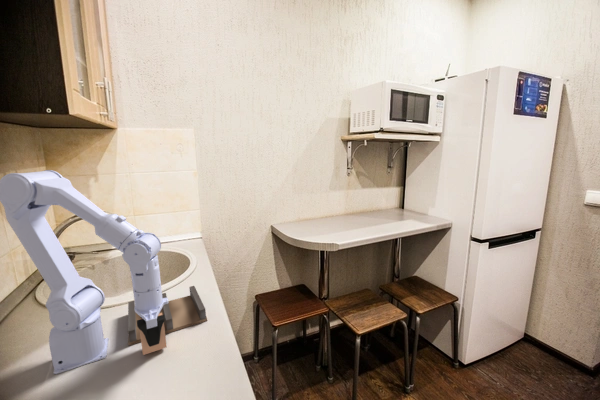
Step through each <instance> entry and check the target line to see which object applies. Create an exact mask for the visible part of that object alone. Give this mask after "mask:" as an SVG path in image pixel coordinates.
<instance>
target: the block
mask: <svg viewBox="0 0 600 400" xmlns="http://www.w3.org/2000/svg"><path fill="white" fill-rule="evenodd" d="M160 315H162V313H159V315H158V316H160ZM141 319H143V318H141ZM139 320H140V319H139ZM140 336H141V342H140V343H141V352H142V355H143V356H145V355H148V354H150V353H153V352H156V351H160V350H163V349H166V348H167V338H166V337H167V336H166V334H165V328H164V323H163V325H162V328H161V334H160V342H159V344H157V345H154V346H151V347H149V345H148V343H147V340H146V338H145V335H144V334H143V332H142V331H141V330H140Z"/></svg>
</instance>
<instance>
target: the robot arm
mask: <svg viewBox="0 0 600 400" xmlns="http://www.w3.org/2000/svg"><path fill="white" fill-rule="evenodd" d="M0 203H1V205H2V207H3V208H4V212H5V213H4V214H5V218H6V219H5V220H6V221H7V223H8V224H9V226H10V227H11V229H12V230H13V232H14V233H15V235H16V237H17V239H18V240H19V242H20V244H21V245H22V247H23V248H24V250H25V251H26V253H27V255H28V257H29V258H30V259H31V261H32V262H33V264H34V266H35V267H36V269H37V270H38V272H39V274H40V275H41V276H42V278H43V281H44V282H45V283H46V285H47V286H48V288H49V289H50V293H49V296H48V298H47V300H46V302H45V307H46V309H47V311H48V314H49V318H48V319H49V321H50V323H51V325H52V326H53V327H52V328H51V329H50V332H49V335H48V336H49V337H48V339H49V340H48V342H49V343H48V345H49V351H50V355H51V362H52V366H53V375H58V374H60V373H64V372H67V371H70V370H72V369H73V370H74V369H76V368H78V367H82V366H85V365H88V364H89V365H90V364H92V363H94V362H97V361H100V360H103V359H105V358H107V354H108V345H109V337H106V338H105V336H104V330H103V324H102V318H101V316H102V315H101V312H102V308H101V307H102V306H103V304H104V302H105V300H106V295H105V293H104V291H103V290H102V289H101V288H100V287H99V286H96V284H95V283H94V282H93V280H92V279H90V278H88V277H83V276H80V274H79V273H78V271H77V269H76V268H75V265H74V264H73V262H72V260H71V259H70V256H68V254H67V251H65V249H64V247H63V246H62V244H61V242H60V241H59V239H58V237H57V236H56V234H55V232H54V230H53V229H52V227H51V225H50V224H49V222H48V220H47V219H46V214H47V213H48V210H49V209H50V207H51V206H59V207H61V208H63V209H65V210H67V211H68V212H70V213H72V214H73V215H75V216H77V217H78V218H80V219H82V220H83V221H85V222H86V223H88V224H90V225H92V226H93V227H94V232H95V235H96V236H97V237H99V238H101V239H102V240H104V242H106V243H108V244H109V245H111V246H112V247H114V248H115V249H116V250H118V251H120V252H121V253H122V254H121V255H122V259H123V260H124V262H125V263H126V264H127V265H128V267H129V271H130V276H131V277H130V278H131V283H132V291H133V301H134V303H135V307H134V309H135V312H136V313H137V314H138V315H139V316H140V317H141V318H143V319H140V320H137V326H138V328H139V329H140V330H141V331H142V332H143V334H144V335H145V338H146V340H147V343H148V345H149V347H151V346H154V345H157V344H159V342H160V334H161V328H162V325H163V323H164V321H165V314H164V315H160V316H158V315H159V313H160V311H161V309H162V307H163V305H165V304H168V301H169V298H168V297H167V298H162V294H163V290H162V289H163V288H162V282H161V272H160V264H159V255H158V253H159V252H160V251H161V249H162V243H161V240H160V238H159V237H158V236H156V234H155V233H154V232H149V231H148V232H145V231H144V230H142V229H139V228H137V227H136V226H134V225H133V224H132V223H130V222H128V221H127V217H125V216H124V215H123V214H121V215H118V214H117V213H111V214H108V213H107V212H105V211H104V210H103V209H102V208H100V207H99V206H98V205H96V204H95V203H94V202H92V201H91V200H90V199H89V198H87V197H86V196H85V195H84V194H83V193H82V192H80V191H79V190H78V189H76V188H75V187H74V186H73V184H72V182H71V180H70V179H68V178H66V177H64V176H63V175H62V174H60V173H59V172H58V171H56V170H51V169H46V170H42V171H33V172H30V171H29V172H20V173H19V172H11V173H7V174H5V175H4V176H2V177H1V179H0Z"/></svg>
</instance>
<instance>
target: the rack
mask: <svg viewBox="0 0 600 400" xmlns="http://www.w3.org/2000/svg"><path fill="white" fill-rule="evenodd" d="M162 298H168V295H167V292H164V293H163V292H162ZM134 307H135V301H134V300H132V301H128V306H127V313H128V314H127V332H128V333H127V334H128V335H127V336H128V338H127V339H128V341H127V344H128V346H133V345H136V344H139V343H141V336H140V329H139V328H138V326H137V320H139V319H141V317H140V316H139V315H138V314H137V313H136V312H135V309H134ZM160 313H162V315H164V314H165V321H164V328H165V335H167V334H170V333H173V332H176V331H180V330H183V329H186V328H189V327H192V326H196V325H199V324H202V323H206V322H208V318H207V315H206V314H207V313H206V307H205V305H204V303H203V301H202V299H201V297H200V295H199V293H198V291H197V288H196V287H195V285H192V286H189V295H186V296H183V297H178V298H175V299H171V300H168V304H165V305H163V307H162V309H161V311H160Z"/></svg>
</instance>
